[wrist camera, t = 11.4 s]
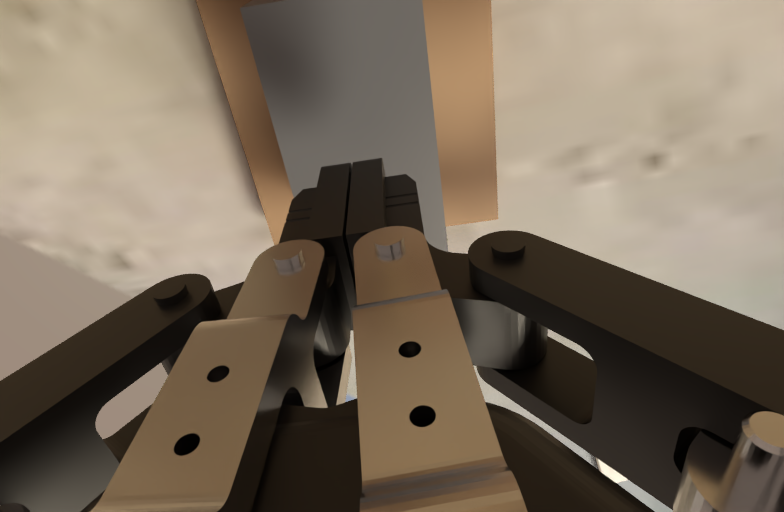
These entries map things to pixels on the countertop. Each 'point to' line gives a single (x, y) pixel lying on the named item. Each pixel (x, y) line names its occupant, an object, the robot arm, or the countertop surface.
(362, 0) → the block
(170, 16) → the countertop surface
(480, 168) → the board
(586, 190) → the countertop surface
